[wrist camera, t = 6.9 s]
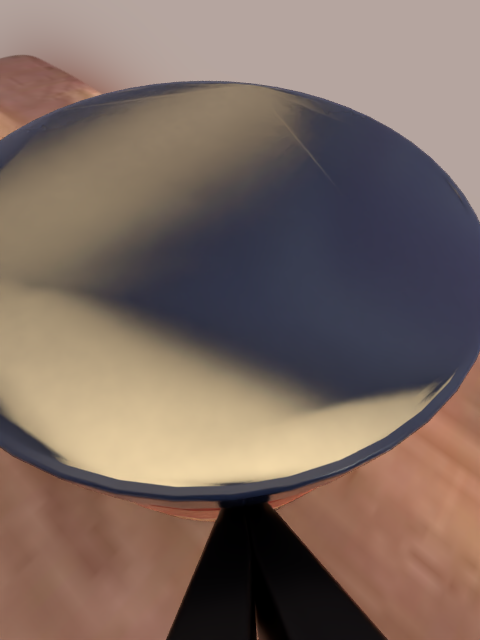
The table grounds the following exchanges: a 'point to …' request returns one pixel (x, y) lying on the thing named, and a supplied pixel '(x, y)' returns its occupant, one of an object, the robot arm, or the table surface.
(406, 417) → the tin
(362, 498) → the table surface
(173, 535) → the table surface
